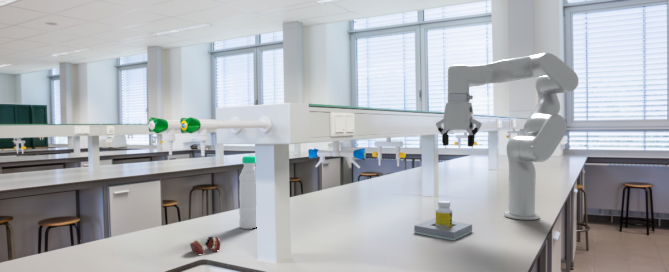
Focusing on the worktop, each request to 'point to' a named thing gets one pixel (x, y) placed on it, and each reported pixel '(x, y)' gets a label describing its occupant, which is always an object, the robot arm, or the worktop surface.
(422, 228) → the holder block
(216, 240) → the dental model
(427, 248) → the worktop surface
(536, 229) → the worktop surface
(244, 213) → the water bottle
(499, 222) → the worktop surface
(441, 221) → the supplement bottle
